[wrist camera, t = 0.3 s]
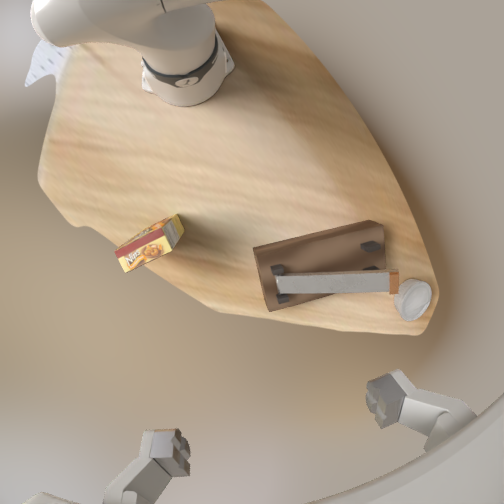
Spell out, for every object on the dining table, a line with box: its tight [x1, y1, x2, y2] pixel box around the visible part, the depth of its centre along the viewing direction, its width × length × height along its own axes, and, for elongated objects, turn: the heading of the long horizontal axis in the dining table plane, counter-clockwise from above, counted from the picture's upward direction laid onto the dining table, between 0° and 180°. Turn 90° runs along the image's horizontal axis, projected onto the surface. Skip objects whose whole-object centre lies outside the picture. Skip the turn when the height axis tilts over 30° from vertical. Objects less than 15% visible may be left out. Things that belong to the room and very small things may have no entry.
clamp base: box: [253, 220, 386, 312], centre depth 54 cm, size 12×27×9 cm, turn 102°
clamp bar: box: [275, 269, 399, 295], centre depth 46 cm, size 4×23×2 cm
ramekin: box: [394, 279, 432, 321], centre depth 62 cm, size 11×11×5 cm
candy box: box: [115, 214, 185, 273], centre depth 45 cm, size 9×4×15 cm, turn 113°
